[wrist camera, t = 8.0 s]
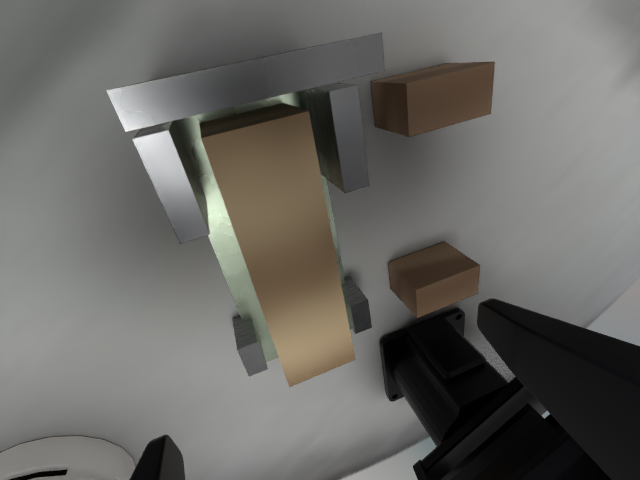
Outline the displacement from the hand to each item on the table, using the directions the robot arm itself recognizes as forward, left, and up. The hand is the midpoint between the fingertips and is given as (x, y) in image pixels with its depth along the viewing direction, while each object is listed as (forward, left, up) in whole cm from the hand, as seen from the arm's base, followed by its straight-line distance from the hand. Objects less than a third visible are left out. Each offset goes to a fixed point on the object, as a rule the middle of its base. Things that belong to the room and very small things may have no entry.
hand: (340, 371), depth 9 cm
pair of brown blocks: (0, -8, -9) cm, 12 cm away
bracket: (0, 0, -9) cm, 9 cm away
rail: (0, 0, -9) cm, 9 cm away
